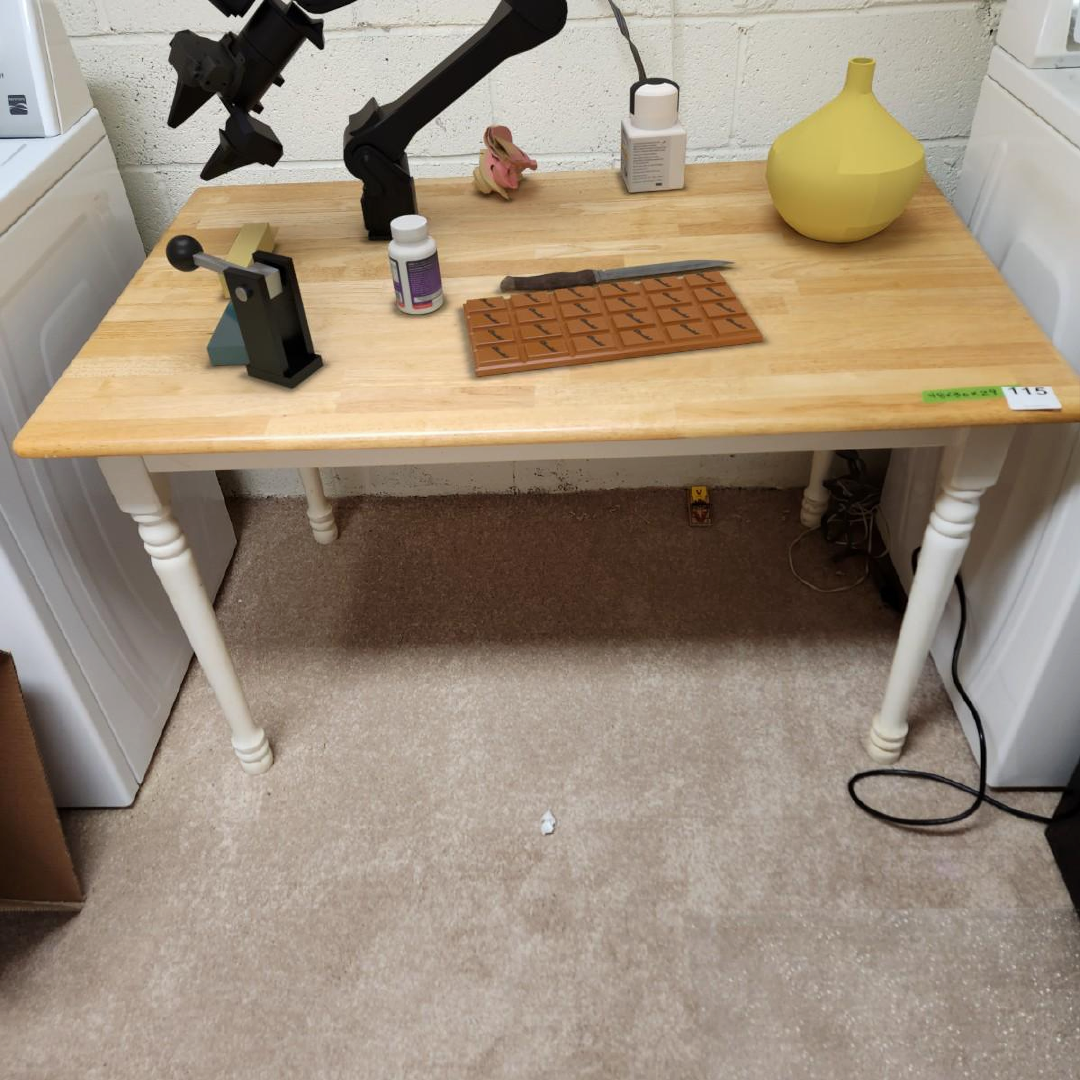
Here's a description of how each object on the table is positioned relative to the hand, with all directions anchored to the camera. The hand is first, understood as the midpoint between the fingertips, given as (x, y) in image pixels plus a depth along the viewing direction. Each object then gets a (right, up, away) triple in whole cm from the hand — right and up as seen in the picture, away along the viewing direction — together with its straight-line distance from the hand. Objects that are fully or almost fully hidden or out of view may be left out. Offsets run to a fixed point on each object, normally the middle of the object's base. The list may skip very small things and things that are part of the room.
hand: (186, 152), depth 111 cm
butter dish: (+10, -23, -8) cm, 27 cm away
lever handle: (+11, -21, -19) cm, 30 cm away
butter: (+7, -13, +3) cm, 15 cm away
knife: (+52, -16, -3) cm, 54 cm away
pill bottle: (+29, -20, -5) cm, 35 cm away
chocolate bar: (+50, -23, -11) cm, 56 cm away
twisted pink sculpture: (+38, +3, +19) cm, 43 cm away
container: (+58, +4, +19) cm, 61 cm away
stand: (+16, -29, -15) cm, 36 cm away
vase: (+80, -7, +5) cm, 80 cm away
